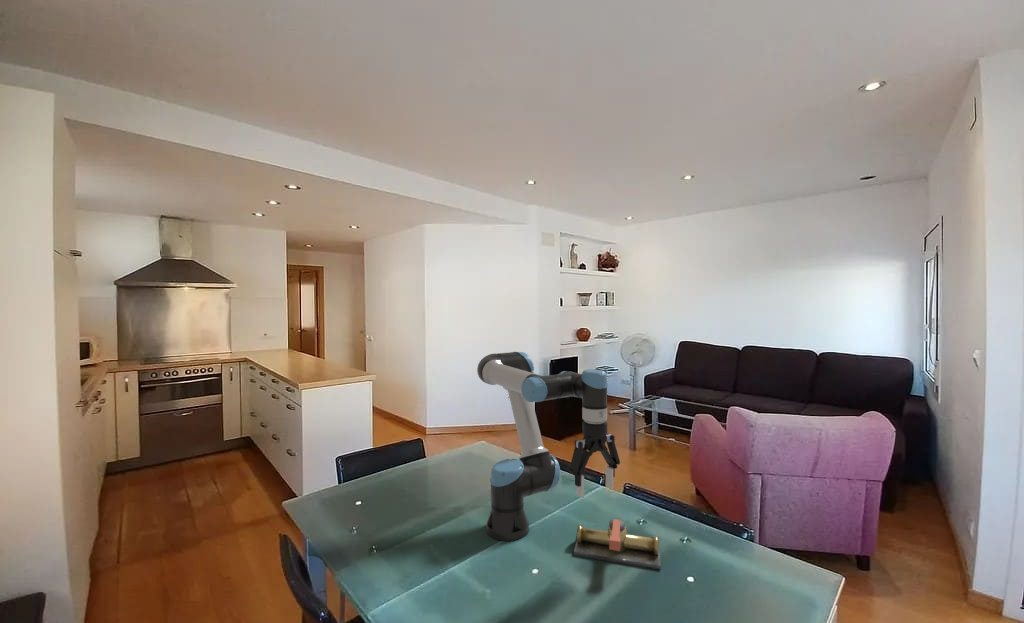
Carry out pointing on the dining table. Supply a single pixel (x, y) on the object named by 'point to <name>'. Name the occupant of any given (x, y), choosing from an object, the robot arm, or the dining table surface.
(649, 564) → the valve base
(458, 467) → the dining table surface
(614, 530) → the lever
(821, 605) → the dining table surface
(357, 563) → the dining table surface
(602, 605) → the dining table surface
